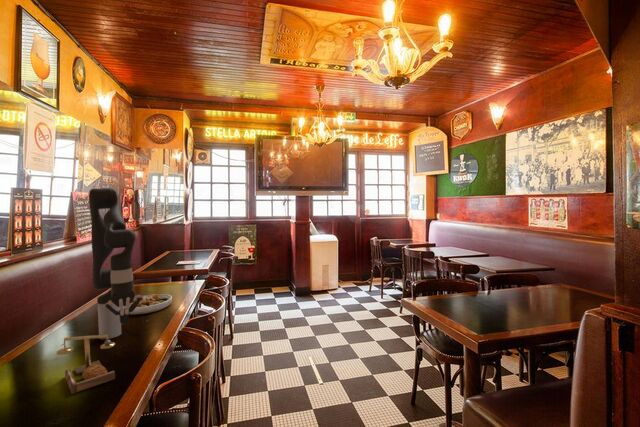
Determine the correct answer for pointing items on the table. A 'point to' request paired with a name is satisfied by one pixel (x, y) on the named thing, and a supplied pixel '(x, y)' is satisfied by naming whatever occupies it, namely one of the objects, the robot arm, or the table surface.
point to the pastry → (93, 371)
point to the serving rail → (87, 381)
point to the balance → (80, 369)
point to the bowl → (151, 303)
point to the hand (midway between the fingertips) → (124, 323)
